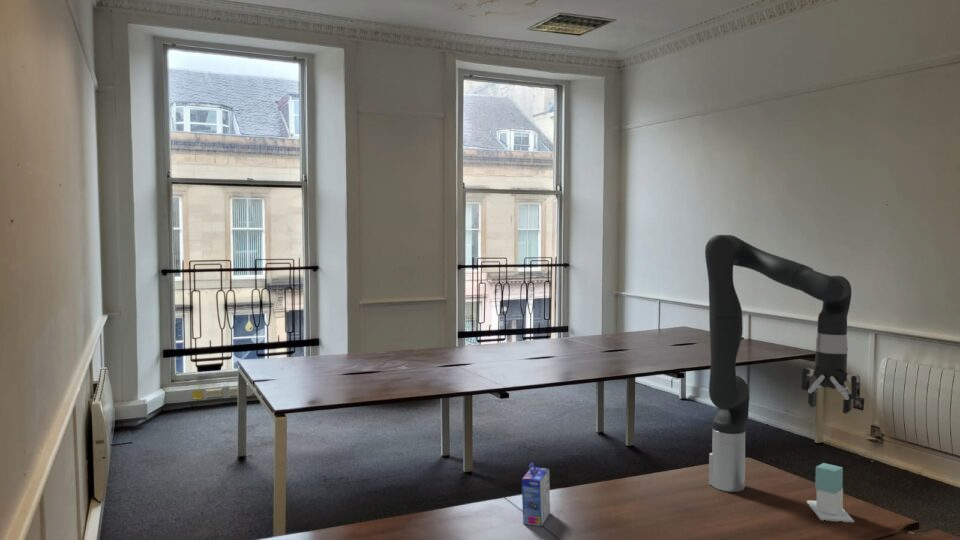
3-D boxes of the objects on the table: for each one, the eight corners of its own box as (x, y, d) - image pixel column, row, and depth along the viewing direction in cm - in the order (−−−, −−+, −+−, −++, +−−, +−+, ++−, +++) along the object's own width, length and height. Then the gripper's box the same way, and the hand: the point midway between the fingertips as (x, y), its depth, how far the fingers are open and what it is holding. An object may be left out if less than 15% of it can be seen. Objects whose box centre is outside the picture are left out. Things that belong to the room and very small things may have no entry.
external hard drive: (838, 507, 189) (854, 526, 177) (806, 505, 191) (820, 523, 178) (838, 502, 189) (854, 520, 177) (806, 500, 190) (820, 517, 178)
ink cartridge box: (530, 510, 185) (530, 457, 185) (550, 512, 184) (550, 459, 183) (521, 524, 176) (521, 469, 176) (541, 527, 174) (541, 471, 174)
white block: (816, 509, 184) (816, 488, 183) (822, 504, 187) (823, 483, 187) (836, 515, 180) (836, 492, 180) (842, 509, 184) (842, 488, 183)
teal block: (815, 488, 183) (815, 466, 183) (823, 484, 186) (823, 462, 186) (834, 493, 179) (835, 471, 179) (842, 489, 182) (842, 467, 182)
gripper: (798, 348, 184) (796, 406, 185) (854, 355, 174) (851, 417, 174) (810, 345, 189) (808, 402, 190) (865, 352, 178) (863, 413, 179)
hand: (829, 409), depth 182 cm, fingers open, 8 cm apart
